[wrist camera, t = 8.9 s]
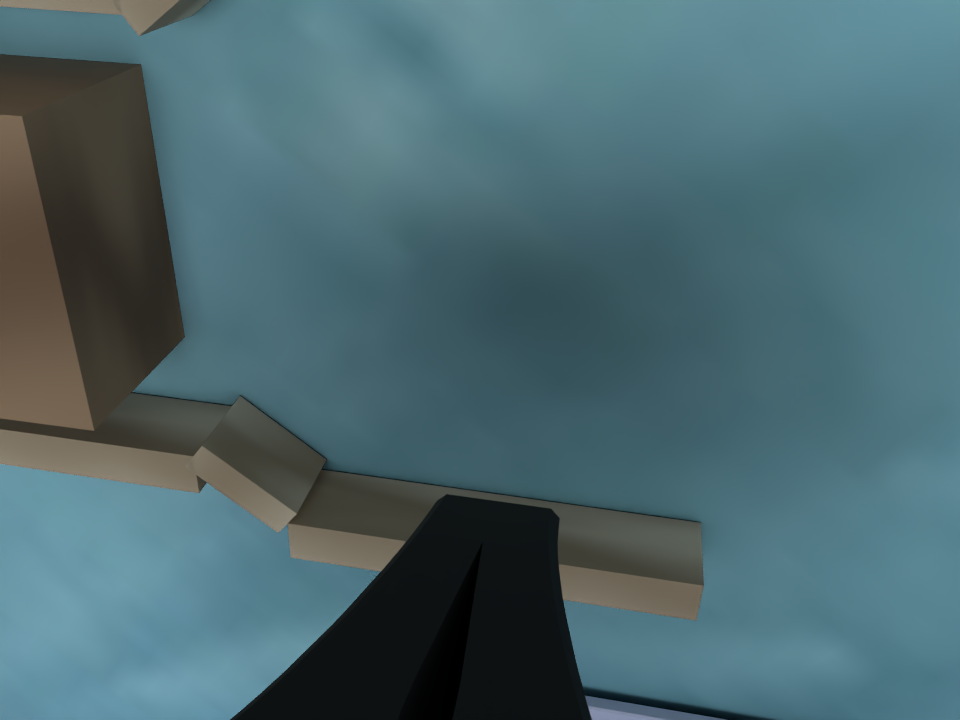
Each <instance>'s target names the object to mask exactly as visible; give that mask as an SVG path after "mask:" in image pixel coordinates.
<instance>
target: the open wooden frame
mask: <svg viewBox="0 0 960 720" xmlns="http://www.w3.org/2000/svg"><path fill="white" fill-rule="evenodd" d="M209 1H210V0H0V6H3V7H17V8H32V9H46V10H61V11H75V12H89V13H104V14H118V15H123V17H124V18H125V19H126V20H127V22H128V23H129V24H130V25H131V27H132V28H133V29H134V30H135V32H136V33H137V34H138V36H141V35H143V34H146V33H149V32H151V31H154V30H156V29H159V28H161V27H164V26H167V25H169V24H172V23H174V22H177V21H180V20H182V19H185V18H187V17H190V16H192V15H194V14H195V13H196V12H197V11H199V10H200V9H201V8H202V7H203V6H204V5H206V4H207V3H208V2H209ZM325 462H326V459H325V458H323V457H322V456H321V455H319V454H318V453H317V452H315V451H314V450H313V449H311V448H310V447H309V446H307V445H306V444H305V443H303V442H302V441H300V440H299V439H298V438H296V437H295V436H294V435H292V434H291V433H290V432H288V431H287V430H286V429H284V428H283V427H281V426H280V425H279V424H277V423H276V422H275V421H273V420H272V419H271V418H269V417H268V416H267V415H265V414H264V413H263V412H261V411H260V410H258V409H257V408H256V407H254V406H253V405H252V404H250V403H249V402H248V401H246V400H245V399H244V398H242V397H241V396H240V397H239V398H238V399H237V400H236V402H235V403H234V404H233V405H232V406H226V405H219V404H211V403H203V402H196V401H188V400H181V399H173V398H166V397H158V396H150V395H143V394H135V393H130V394H129V395H128V396H127V397H126V398H125V399H124V401H123V402H122V403H121V404H120V405H119V406H118V407H117V408H116V409H115V410H114V411H113V412H112V413H111V414H110V415H109V416H108V417H107V418H106V419H105V420H104V421H103V422H102V423H101V424H100V425H99V426H98V427H97V429H96V430H95V431H92V430H84V429H77V428H69V427H62V426H54V425H47V424H39V423H32V422H24V421H17V420H9V419H2V418H0V464H5V465H12V466H19V467H25V468H32V469H39V470H46V471H53V472H59V473H66V474H73V475H80V476H87V477H93V478H100V479H107V480H114V481H121V482H127V483H134V484H141V485H148V486H155V487H161V488H168V489H175V490H182V491H189V492H195V493H200V491H201V490H202V488H203V487H204V486H205V484H206V483H208V484H210V485H211V486H213V487H214V488H215V489H217V490H218V491H220V492H221V493H222V494H224V495H225V496H227V497H228V498H230V499H231V500H232V501H234V502H235V503H237V504H238V505H239V506H241V507H242V508H244V509H245V510H246V511H248V512H249V513H251V514H252V515H253V516H255V517H256V518H258V519H259V520H261V521H262V522H263V523H265V524H266V525H268V526H269V527H270V528H272V529H273V530H275V531H276V532H277V533H279V532H280V531H281V530H282V529H283V528H284V527H285V526H286V524H288V534H289V544H290V554H291V558H297V559H304V560H310V561H316V562H323V563H329V564H336V565H342V566H349V567H355V568H361V569H368V570H374V571H382V570H383V569H384V568H385V566H386V565H387V564H388V563H389V562H390V560H391V559H392V558H393V557H394V556H395V554H396V553H397V552H398V551H399V550H400V548H401V547H402V546H403V545H404V544H405V542H406V541H407V540H408V539H409V537H410V536H411V535H412V534H413V532H414V531H415V530H416V528H417V527H418V526H419V524H420V523H421V522H422V521H423V519H424V518H425V517H426V515H427V514H428V513H429V511H430V510H431V508H432V507H433V506H434V504H435V503H436V501H437V500H439V499H440V498H442V497H443V496H445V495H446V494H450V495H457V496H464V497H471V498H479V499H486V500H493V501H500V502H508V503H515V504H522V505H529V506H536V507H544V508H551V509H552V510H553V511H554V512H555V513H556V515H557V516H558V517H559V518H560V522H559V533H558V562H559V573H560V581H561V588H562V596H563V600H568V601H574V602H580V603H587V604H593V605H600V606H606V607H613V608H619V609H626V610H632V611H638V612H645V613H651V614H658V615H664V616H671V617H677V618H683V619H690V620H697V615H698V610H699V606H700V601H701V596H702V591H703V587H704V581H703V557H702V533H701V523H698V522H691V521H684V520H676V519H669V518H662V517H655V516H648V515H641V514H634V513H627V512H620V511H612V510H605V509H598V508H591V507H584V506H577V505H570V504H563V503H555V502H548V501H541V500H534V499H527V498H520V497H513V496H506V495H498V494H491V493H484V492H477V491H470V490H463V489H456V488H449V487H441V486H434V485H427V484H420V483H413V482H406V481H399V480H392V479H384V478H377V477H370V476H363V475H356V474H349V473H342V472H335V471H328V470H321V469H322V467H323V465H324V463H325Z"/></svg>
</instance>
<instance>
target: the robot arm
mask: <svg viewBox="0 0 960 720" xmlns="http://www.w3.org/2000/svg"><path fill="white" fill-rule="evenodd" d="M559 522H560V518H559V517H558V516H557V515H556V513H555V512H554V511H553V510H552V509H551V508H544V507H536V506H529V505H522V504H515V503H508V502H500V501H493V500H486V499H479V498H471V497H464V496H457V495H450V494H446V495H445V496H443V497H442V498H440V499H439V500H437V501H436V503H435V504H434V506H433V507H432V508H431V510H430V511H429V513H428V514H427V515H426V517H425V518H424V519H423V521H422V522H421V523H420V524H419V526H418V527H417V528H416V530H415V531H414V532H413V534H412V535H411V536H410V537H409V539H408V540H407V541H406V542H405V544H404V545H403V546H402V547H401V548H400V550H399V551H398V552H397V553H396V554H395V556H394V557H393V558H392V559H391V560H390V562H389V563H388V564H387V565H386V566H385V568H384V569H383V570H382V571H381V572H380V573H379V574H378V576H377V577H376V578H375V579H374V580H373V581H372V582H371V583H370V584H369V585H368V587H367V588H366V589H365V590H364V591H363V592H362V593H361V594H360V595H359V597H358V598H357V599H356V600H355V601H354V602H353V603H352V604H351V605H350V606H349V608H348V609H347V610H346V611H345V612H344V613H343V614H342V615H341V616H340V617H339V618H338V619H337V620H336V621H335V622H334V624H333V625H332V626H331V627H330V628H329V629H327V630H326V631H325V632H324V633H323V634H322V635H321V636H320V637H319V638H318V639H317V640H316V641H315V642H314V643H313V644H312V645H311V646H310V647H309V648H308V649H307V650H306V651H305V652H304V653H303V654H302V655H301V656H300V657H299V658H298V659H297V660H296V661H295V662H294V663H293V664H292V665H291V666H290V667H289V668H288V669H287V670H286V671H285V672H284V673H283V674H282V675H280V676H279V677H278V678H277V679H276V680H275V681H274V682H273V683H272V684H271V685H269V686H268V687H267V688H266V689H265V690H264V691H263V692H262V693H261V694H260V695H258V696H257V697H256V698H255V699H254V700H253V701H252V702H250V703H249V704H248V705H247V706H246V707H245V708H244V709H242V710H241V711H240V712H239V713H238V714H236V715H235V716H234V717H233V718H232V719H230V720H726V719H720V718H715V717H709V716H703V715H697V714H691V713H685V712H679V711H673V710H667V709H661V708H656V707H650V706H644V705H638V704H632V703H626V702H620V701H614V700H608V699H602V698H597V697H591V696H585V695H584V691H583V687H582V683H581V679H580V676H579V672H578V668H577V664H576V660H575V655H574V651H573V646H572V641H571V637H570V632H569V628H568V623H567V619H566V613H565V608H564V602H563V596H562V588H561V581H560V573H559V562H558V533H559Z"/></svg>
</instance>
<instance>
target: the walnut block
mask: <svg viewBox="0 0 960 720" xmlns="http://www.w3.org/2000/svg"><path fill="white" fill-rule="evenodd" d="M184 337H185V336H184V330H183V323H182V317H181V311H180V305H179V298H178V292H177V286H176V280H175V273H174V267H173V261H172V255H171V248H170V242H169V236H168V230H167V224H166V217H165V211H164V205H163V199H162V192H161V186H160V180H159V174H158V167H157V161H156V155H155V149H154V142H153V136H152V130H151V124H150V118H149V111H148V105H147V99H146V93H145V86H144V80H143V74H142V68H141V64H128V63H114V62H100V61H86V60H72V59H58V58H44V57H30V56H16V55H2V54H0V418H2V419H9V420H17V421H24V422H32V423H39V424H47V425H54V426H62V427H69V428H77V429H84V430H92V431H95V430H96V429H97V427H98V426H99V425H100V424H101V423H102V422H103V421H104V420H105V419H106V418H107V417H108V416H109V415H110V414H111V413H112V412H113V411H114V410H115V409H116V408H117V407H118V406H119V405H120V404H121V403H122V402H123V401H124V399H125V398H126V397H127V396H128V395H129V394H130V393H131V392H132V391H133V390H134V389H135V388H136V387H137V386H138V385H139V384H140V383H141V382H142V381H143V380H144V379H145V378H146V377H147V376H148V375H149V374H150V373H151V371H152V370H153V369H154V368H155V367H156V366H157V365H158V364H159V363H160V362H161V361H162V360H163V359H164V358H165V357H166V356H167V355H168V354H169V353H170V352H171V351H172V350H173V349H174V348H175V347H176V346H177V345H178V343H179V342H180V341H181V340H182V339H183V338H184Z"/></svg>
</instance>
